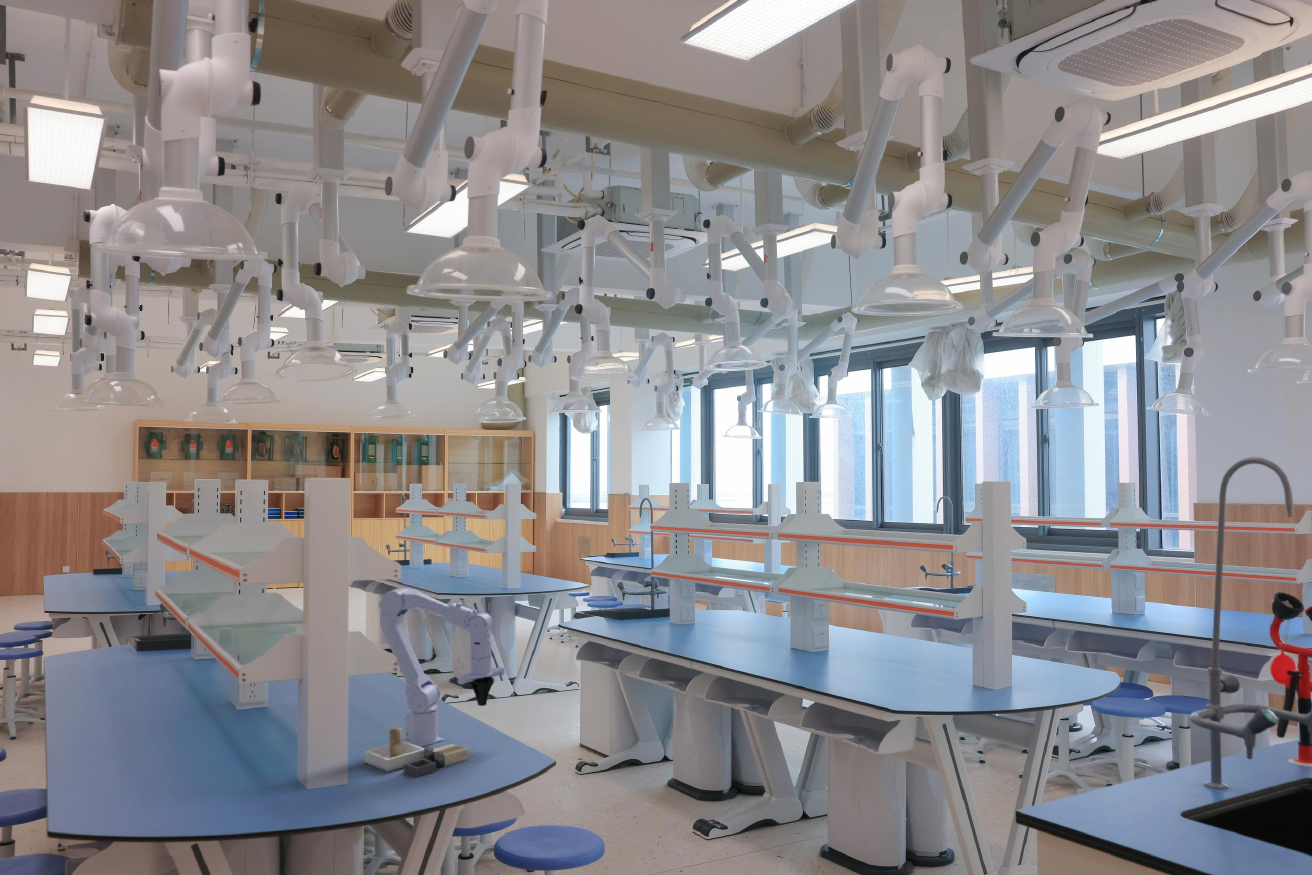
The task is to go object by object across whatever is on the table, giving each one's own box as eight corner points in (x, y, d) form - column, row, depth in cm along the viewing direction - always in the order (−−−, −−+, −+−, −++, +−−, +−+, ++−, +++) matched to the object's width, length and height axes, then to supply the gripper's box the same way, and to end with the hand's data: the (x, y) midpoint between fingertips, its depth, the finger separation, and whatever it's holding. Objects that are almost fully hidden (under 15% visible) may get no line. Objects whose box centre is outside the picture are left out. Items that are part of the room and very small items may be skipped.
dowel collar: (404, 771, 243) (404, 763, 243) (424, 765, 248) (423, 758, 248) (416, 776, 239) (416, 768, 239) (436, 770, 243) (436, 762, 243)
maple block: (430, 761, 252) (429, 750, 252) (452, 754, 257) (452, 743, 257) (444, 767, 247) (444, 755, 247) (467, 760, 252) (467, 748, 252)
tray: (364, 762, 252) (364, 750, 252) (403, 751, 260) (403, 740, 260) (387, 771, 244) (387, 759, 244) (426, 760, 252) (426, 749, 252)
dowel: (388, 760, 250) (388, 730, 250) (391, 757, 253) (391, 727, 253) (400, 760, 250) (399, 730, 250) (402, 757, 253) (402, 726, 253)
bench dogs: (422, 762, 250) (422, 749, 250) (430, 760, 252) (429, 746, 252) (437, 768, 245) (437, 754, 245) (445, 765, 247) (445, 752, 247)
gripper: (467, 662, 259) (468, 712, 259) (510, 653, 270) (511, 701, 269) (452, 659, 264) (453, 708, 264) (495, 650, 275) (496, 697, 274)
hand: (482, 704), depth 267 cm, fingers closed
